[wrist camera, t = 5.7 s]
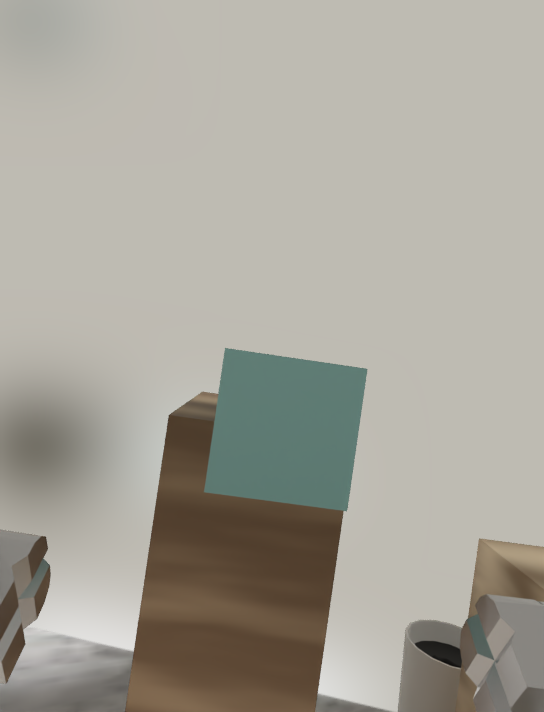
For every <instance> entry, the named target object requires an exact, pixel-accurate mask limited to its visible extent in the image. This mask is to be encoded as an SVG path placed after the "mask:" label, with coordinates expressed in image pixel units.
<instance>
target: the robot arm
mask: <svg viewBox="0 0 544 712" xmlns="http://www.w3.org/2000/svg"><path fill="white" fill-rule="evenodd" d="M47 549H48V546H47V541H46V537H45V536H38V535H32V534H25V533H19V532H12V531H6V530H0V683H2V684H6V683H7V681H8V679H9V677H10V675H11V673H12V671H13V668H14V666H15V664H16V662H17V660H18V658H19V656H20V654H21V652H22V650H23V647H24V645H25V640H24V633H23V629H24V628H26V627H27V626H28V625H30V624H31V623H32V622H33V621H35V620H36V619H37V618H38V616H39V613H40V611H41V609H42V607H43V604H44V602H45V598H46V595H47V592H48V588H49V583H50V565H49V564H48V563H47V562H46V561H45V560H44V559H43V558H44V556H45V554H46V552H47ZM475 607H476V610H477V613H478V614H476V615H474V616H472V617H470V618H468V619H467V620H466V622H465V624H464V626H463V628H462V630H461V637H460V652H461V659H462V663H463V666H464V670H465V673H466V674H467V675H468V677H469V678H470V679H471V680H472V681H473V682H474V684H475V685H476V686H477V689H476V692H475V695H474V698H473V701H474V705H475V708H476V712H544V602H541V601H536V600H532V599H524V598H515V597H507V596H498V595H489V594H485V595H483V596H481V597H480V598H479V599H478V601H477V603H476V604H475Z"/></svg>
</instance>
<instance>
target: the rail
mask: <svg viewBox="0 0 544 712" xmlns="http://www.w3.org/2000/svg"><path fill="white" fill-rule="evenodd" d="M366 375H367V369H364V368H357V367H351V366H343V365H337V364H330V363H324V362H317V361H310V360H303V359H296V358H289V357H282V356H275V355H269V354H261V353H255V352H248V351H241V350H234V349H228V348H225V353H224V359H223V367H222V373H221V380H220V387H219V394H218V400H217V407H216V414H215V421H214V428H213V434H212V441H211V448H210V455H209V462H208V469H207V475H206V482H205V489H204V492H206V493H214V494H221V495H229V496H236V497H244V498H251V499H259V500H266V501H274V502H281V503H289V504H296V505H304V506H312V507H319V508H327V509H334V510H342V511H347V508H348V501H349V494H350V487H351V480H352V473H353V466H354V459H355V451H356V445H357V438H358V431H359V424H360V417H361V410H362V402H363V396H364V389H365V382H366Z"/></svg>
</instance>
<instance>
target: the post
mask: <svg viewBox="0 0 544 712" xmlns="http://www.w3.org/2000/svg"><path fill="white" fill-rule="evenodd" d="M217 400H218V394H215V393H207V392H201V393H200V394H199V395H197V396H196V397H194V398H193V399H191V400H190V401H189V402H187V403H186V404H184V405H183V406H181V407H180V408H179V409H177V410H175V411H174V412H173V413H171V414H170V415H169V418H168V425H167V432H166V438H165V446H164V452H163V459H162V466H161V472H160V480H159V486H158V493H157V499H156V506H155V513H154V520H153V526H152V533H151V541H150V547H149V554H148V560H147V567H146V575H145V580H144V588H143V595H142V601H141V608H140V615H139V621H138V628H137V635H136V641H135V648H134V655H133V662H132V668H131V675H130V682H129V689H128V696H127V702H126V709H125V712H315V707H316V700H317V693H318V686H319V679H320V671H321V664H322V658H323V651H324V644H325V637H326V630H327V623H328V616H329V608H330V601H331V595H332V588H333V581H334V574H335V567H336V560H337V553H338V545H339V539H340V532H341V525H342V518H343V511H342V510H334V509H327V508H319V507H312V506H304V505H296V504H289V503H281V502H274V501H266V500H259V499H251V498H244V497H236V496H229V495H221V494H214V493H206V492H204V489H205V482H206V475H207V469H208V462H209V455H210V448H211V441H212V434H213V428H214V421H215V414H216V407H217Z"/></svg>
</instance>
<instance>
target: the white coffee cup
mask: <svg viewBox="0 0 544 712" xmlns="http://www.w3.org/2000/svg"><path fill="white" fill-rule="evenodd" d="M461 630H462V628H461V627H458V626H456V625H453V624H450V623H446V622H441V621H436V620H419V621H415V622H412V623H410V624H409V625H408V627H407V628H406V630H405V642H404V651H403V652H404V653H403V662H402V673H401V683H400V694H399V704H398V712H455V708H456V701H457V694H458V687H459V680H460V673H461V665H462V659H461V652H460V637H461Z"/></svg>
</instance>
